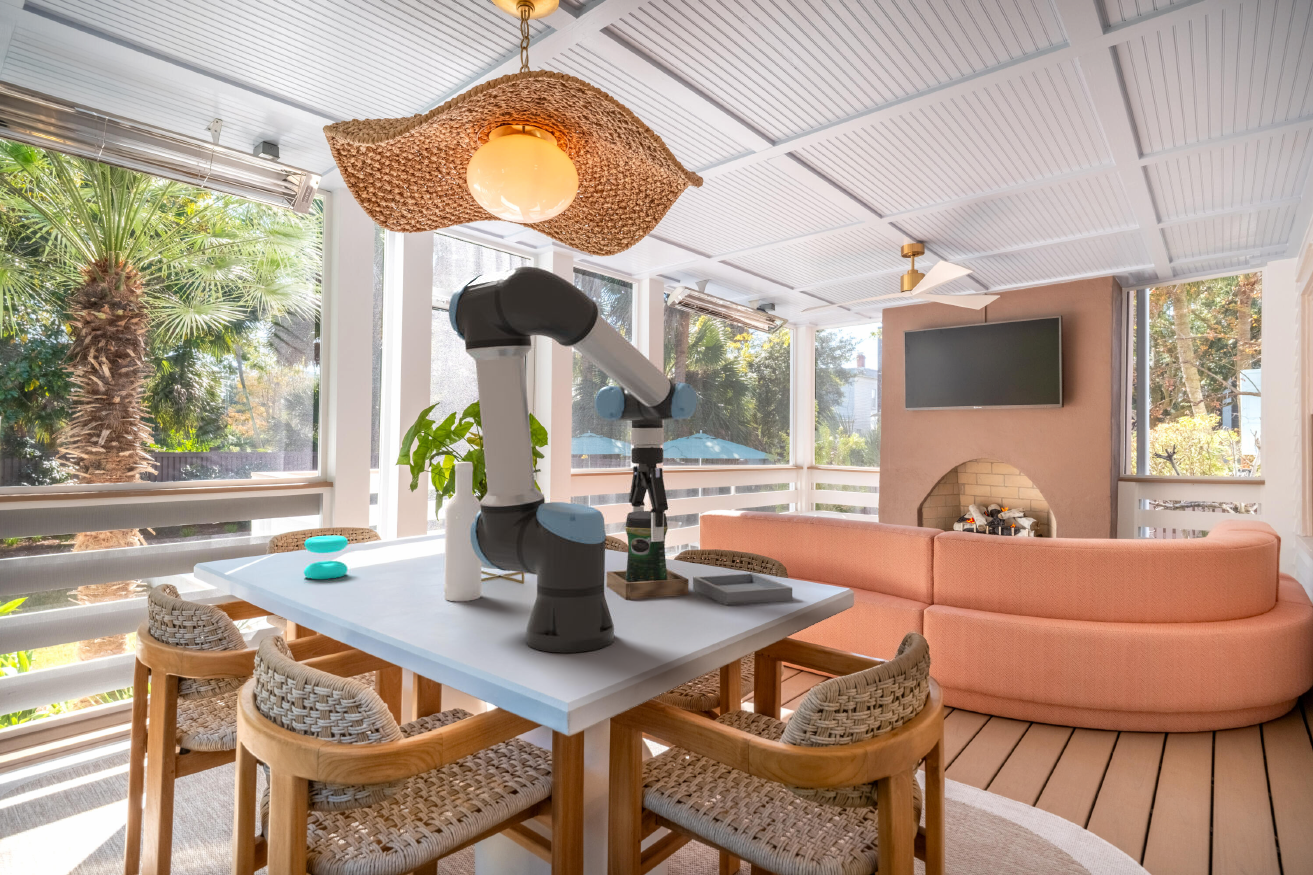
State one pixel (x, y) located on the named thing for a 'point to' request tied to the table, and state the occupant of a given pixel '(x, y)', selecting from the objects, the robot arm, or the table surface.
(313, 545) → the pair of cyan pebbles
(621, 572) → the walnut frame
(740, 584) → the slate tray
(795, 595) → the table surface
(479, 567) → the bottle
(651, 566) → the coffee jar
